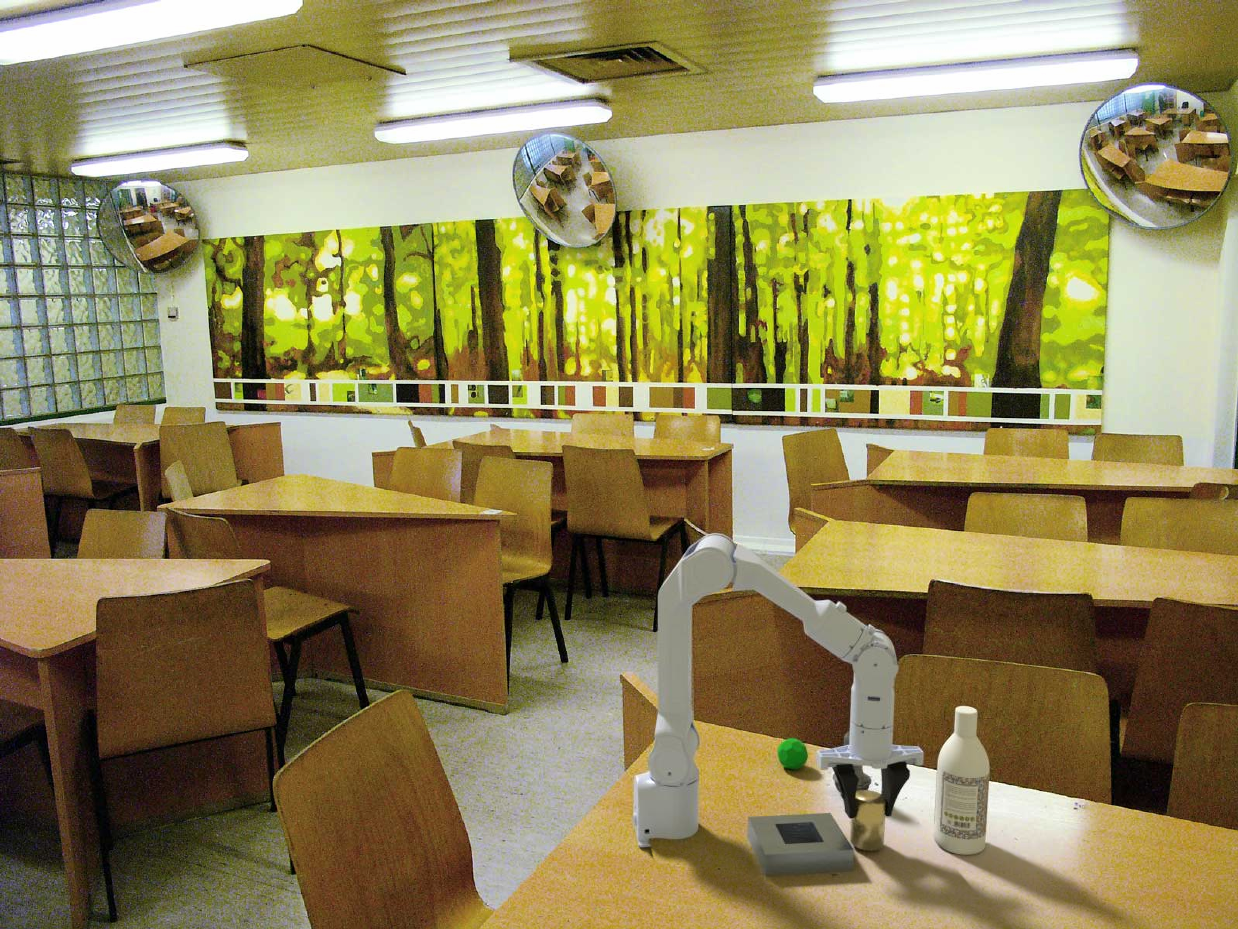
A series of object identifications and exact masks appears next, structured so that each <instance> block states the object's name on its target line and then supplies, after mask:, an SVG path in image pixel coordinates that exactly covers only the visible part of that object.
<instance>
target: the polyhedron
mask: <svg viewBox="0 0 1238 929" xmlns="http://www.w3.org/2000/svg"><path fill="white" fill-rule="evenodd" d="M776 753H777V757H778V760H779V763H780V764H781V765H782V766H783V767H784V768H786V769H788V770H792V771H793V770H799V769H800V768H802V767H804V766H805V765H806V763H807V761H808V758H809V754H808V749H807V746H806V745H805V743H803V741H801V740H799V739H798V738H792V737H790V738H787V739H785V740H783V741H782V742H781V743H779V745H778V747H777V752H776Z"/></svg>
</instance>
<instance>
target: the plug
mask: <svg viewBox="0 0 1238 929" xmlns="http://www.w3.org/2000/svg"><path fill="white" fill-rule="evenodd" d="M885 811H886V798H885V797H884V796H883V795H882V794H881V793H880V792H877V791H874V790H871V789H868V790H860V791H856V798H855V818H851V819H850V831H849V832H850V834H849V836H850V837H849V840H850V841H849V843H850V844H852V845H853V846H854V847H855V848H858V849H860V850H864V851H878V850H881V849H882V848H883V847H884V845H885V830H886V815H885Z"/></svg>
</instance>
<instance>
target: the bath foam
mask: <svg viewBox="0 0 1238 929" xmlns="http://www.w3.org/2000/svg"><path fill="white" fill-rule="evenodd" d="M954 712H955V713H954V727H953V728H954V732H953V733H952V734H951V736H950V737H949V738H948V739H947V740H946V741H945V743H944V744H943V746H942V747H941V748H940V750H939V751H940V752H939V754H938V757H937V765H936V781H935V782H936V784H935V802H934V803H935V804H934V821H933V824H934V825H933V826H934V828H933V839H934V841H935V843H936V844H937V845H938V846H939V847H940V848H942V849H943V850H945V851H947V852H949V853H952V854H957V855H961V856H962V855H963V856H967V855H969V856H970V855H971V856H972V855H976V854H979V853H981V852H982V851H984V848H985V847H986V837H987V836H986V835H987V826H988V825H987V824H988V823H987V822H988V808H989V807H988V804H989V791H990V790H989V789H990V788H989V787H990V770H991V769H990V760H989V757H988V754H987V751H986V750H985V747H984V746H983V744H982V743H981V741H980V739H979V738H978V736H977V726H978V710H977V709H976V708H974V707H971V706H968V705H959V706H957V707H955V711H954Z"/></svg>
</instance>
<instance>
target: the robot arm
mask: <svg viewBox="0 0 1238 929" xmlns="http://www.w3.org/2000/svg"><path fill="white" fill-rule="evenodd" d="M731 583H733V585H732V589H731V591H732V592H740V591H755V592H757V593H758V594H760V595H761V596H763V597H765V598H766V599H767V600H769V601H771V602H772V603H774V604H775V605H777V606H778V607H780V608H782V609H783V610H785V611H786V612H788V613H789V614H792V615H793V616H794V617H795V618H797V619H798V620H800V621H801V622H802V624H803V632H804V634H805V635H806V636H807V637H809V638H811V639H812V640H813V641H814V642H816V643H817V644H819V645H820V646H821V647H823V648H824V649H826V650H827V651H829V652H830V653H831V654H832V655H834V656H836V657H837V658H838V659H840V660H841V661H843V662H846V663H849V664H851V665H852V670H853V683H852V685H851V688H850V689H851V691H850V692H851V693H850V715H849V716H850V718H849V732H850V740H849V745H846V746H844V745H842V746H837V747H833V748H829V749H821V750H820V749H819V750H817V751H816V765H817V766H818V768H819V769H820V770H822V771H823V770H824V771H825V770H828V769H829V768H832V770H833V772H834V773H835V775H836V778H837V780H838V783H839V786H840V789H841V792H842V794H841V795H842V801H843V805H844V812H845V815H847V817H848V819H850V820H851V818H855V798H856V790H857V785H858V781H859V778H858V777H857V775H856V774H855V769H853V766H863V767H864V766H865V767H871V768H873V769H875V770H878V769H879V770H880V775H881V790H880V791H881V793H880V794H882V795H883V796H884V797H885V798H886V811H885V818H886V817H887V818H888V817H892V813H893V810H894V807H895V804H896V802H897V800H898V797H899V794H900V793H901V790H902V789H903V787H904V786H905V784H906V783H907V782H908V781H909V779H910V777H911V771H910V769H909V768H908V764H914V765H915V766H924V756H925V755H924V754H925V753H924V751H923V750H922V748H920V746H913V745H899V744H898V745H897V744H893V739H894V737H893V732H894V718H895V717H894V712H895V690H894V686H895V677H896V676H897V674H898V672H899V668H900V666H899V664H898V658H897V655H896V650H895V647H894V644H893V641H892V640H891V639H890V638H889V636H888V635H886V634H885V632H884V631H883V630H882V629H877V628H875V626H873V625H872V624H870V623H869V624H868V625H866V624H864V623H863V622H861V621H860V620H859V619H857V618H856V617H855V616H853V615H851V614H850V613H849V612H847V605H845V604H844V603H843V602H842V601H837V603H834V602H833V601H832V600H830V599H824V600H815V599H813V598H812V597H811V596H810V595H808V594H807V593H806V592H804V590H802V589H801V588H799V587H798V586H796V584H794V583H793V582H792V581H790V580H789V579H788V578H786V576H784V575H782V574H781V573H780V572H778V571H777V570H776V569H775V568H774V567H772V566H771V565H770V564H768V563H767V562H766V561H764V560H763V559H762V558H760V557H759V556H758V555H756V554H755V553H754V552H752V550H750V549H749V548H748V547H746V546H744V545H742V544H740V543H737V545H736V543H735V542H734V540H733V539H732V538H730V537H729V536H727V535H725V534H723V533H720V532H719V533H716V532H714V533H709V534H706V535H704V536H703V537H701V538H700V539H698V540H697V541H696V542H694V543H693V544H691V545H690V546H689V547H688V548H687V550H686V551H685V553H684V554H683V555H682V557H681V559H680V560H679V561H678V562H677V564H676V565H675V567H674V568H673V569H672V571H671V572H670V574H668V576H667V578H666V579H665V580H664V581H663V583H662V585H661V587H660V588H659V590H658V594H657V717H656V722H655V723H656V724H655V728H654V742H653V746H652V748H651V750H650V752H649V754H648V758H647V766H648V767H647V768H648V769H649V770H648V771H646V772H644V773H640V774H636V775H634V777H633V813H632V825H633V827H634V831H635V835H636V840H637V843H638V847H639V848H652V847H651V841H650V839H664V840H665V839H667V840H682V839H683V840H684V839H687V838H690V837H692V836H695V834H696V833H697V832H698V831H699V817H700V816H699V815H700V814H699V813H700V812H699V808H700V807H699V805H700V803H699V802H700V801H699V798H700V797H699V796H700V770H699V768H698V767H697V764H696V763H695V757H696V753H697V751H698V749H699V747H700V741H701V739H700V734H699V731H698V729H697V728H696V725H695V723H694V710H693V708H692V673H693V672H692V666H693V665H692V663H693V662H692V661H693V660H692V659H693V658H692V656H693V653H692V652H693V651H692V649H693V648H692V647H693V646H692V645H693V642H692V640H693V637H692V635H693V630H692V629H693V606H694V605H695V604H696V603H698V601H699V602H700V600H701V599H702V598H704V597H706V596H708V595H709V596H710V595H712V594H715V593H718V592H720V591H723V590H724V589H725V588H727V587H728V585H730V584H731ZM834 773H833V774H834ZM647 830H648V831H647Z"/></svg>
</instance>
